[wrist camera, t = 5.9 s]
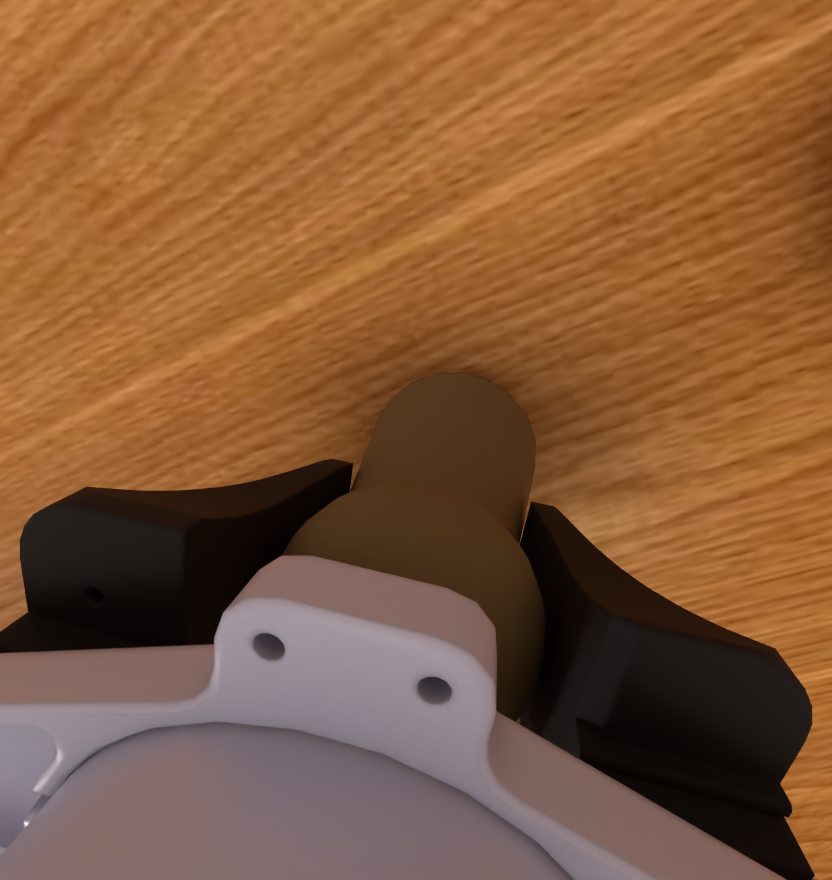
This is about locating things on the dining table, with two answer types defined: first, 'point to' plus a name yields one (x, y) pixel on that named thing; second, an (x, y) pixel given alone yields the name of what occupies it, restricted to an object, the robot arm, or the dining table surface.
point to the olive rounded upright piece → (448, 513)
